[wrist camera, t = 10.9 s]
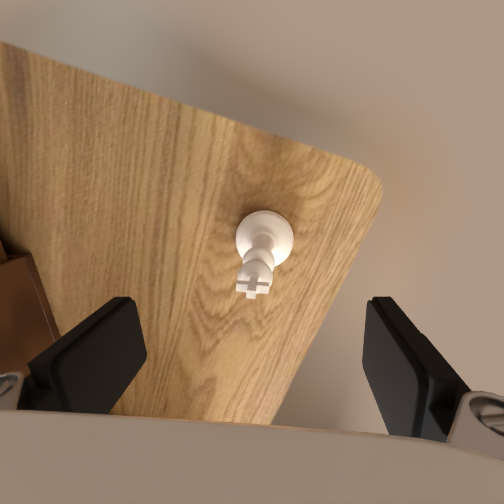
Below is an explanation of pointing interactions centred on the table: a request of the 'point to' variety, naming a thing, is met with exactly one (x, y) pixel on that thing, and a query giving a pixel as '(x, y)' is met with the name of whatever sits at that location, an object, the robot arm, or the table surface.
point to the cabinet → (23, 314)
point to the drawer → (2, 253)
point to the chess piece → (261, 250)
